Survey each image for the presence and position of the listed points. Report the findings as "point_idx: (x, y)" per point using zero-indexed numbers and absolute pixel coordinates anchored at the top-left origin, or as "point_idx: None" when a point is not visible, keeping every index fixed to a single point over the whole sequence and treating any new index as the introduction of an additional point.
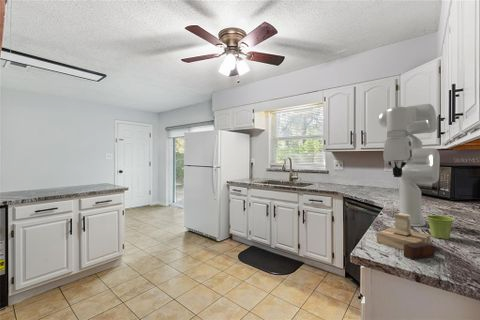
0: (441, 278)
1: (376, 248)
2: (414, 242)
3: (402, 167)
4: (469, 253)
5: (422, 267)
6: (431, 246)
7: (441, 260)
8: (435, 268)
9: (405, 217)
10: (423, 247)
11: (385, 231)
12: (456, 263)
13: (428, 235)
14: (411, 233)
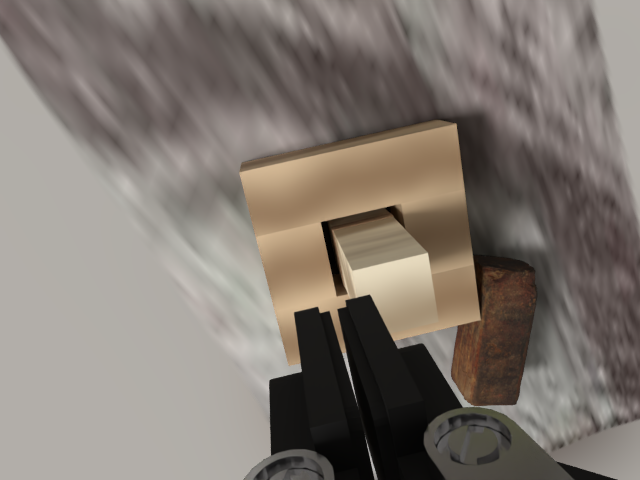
0: (600, 419)
1: None
2: (471, 321)
3: (501, 452)
4: (583, 63)
5: (534, 400)
6: (534, 297)
7: (545, 275)
8: (562, 367)
9: (431, 319)
10: (526, 350)
11: (291, 299)
12: (588, 251)
13: (452, 138)
14: (384, 193)
